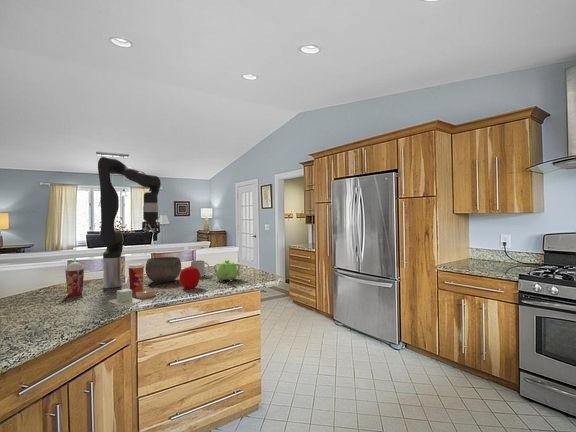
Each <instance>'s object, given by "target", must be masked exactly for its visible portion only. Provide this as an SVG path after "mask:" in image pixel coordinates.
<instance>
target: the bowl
mask: <svg viewBox="0 0 576 432" xmlns="http://www.w3.org/2000/svg"><path fill="white" fill-rule="evenodd" d="M181 261H182V260H181V259H180V257H179V256H178V257H177V256H164V257H163V256H161V257H152V258H147V261H146V263H145V274H146V277H148V279H149V280H150V281H152V282H154V283H167V282H168V283H169V282H172V281H174V280H176V279H178V277H180V273H181V271H182V262H181Z"/></svg>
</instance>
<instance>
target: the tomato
mask: <svg viewBox="0 0 576 432" xmlns="http://www.w3.org/2000/svg"><path fill="white" fill-rule="evenodd" d="M200 279H201V277H200V272H199V270H198V269H197V268H196V267H191V265H190V266H187V267H185V268H183V269H181V271H180V274H179V283H180V284H181V286H182V288H184V289H186V290H187V289H188V290H192V289H195V288H196V287H197V286H198V285H199V282H200Z"/></svg>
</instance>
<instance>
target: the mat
mask: <svg viewBox="0 0 576 432" xmlns="http://www.w3.org/2000/svg"><path fill="white" fill-rule="evenodd" d="M138 302H142V300H141V299H139V298H136V297H132V301H127V302H123V303H121V302H118V301H117V298H114V299H109V300H108V303H111V304H112V303H113V304H115V305H118V306H121V307H123V306H126V305H130V304H133V303H134V304H135V303H138Z"/></svg>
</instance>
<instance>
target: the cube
mask: <svg viewBox="0 0 576 432" xmlns="http://www.w3.org/2000/svg"><path fill="white" fill-rule="evenodd" d="M132 298H133V292H132V290H130V288H123V289H118V290H116V299H117V301H118V302H121V303H123V302H127V301H132Z"/></svg>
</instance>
